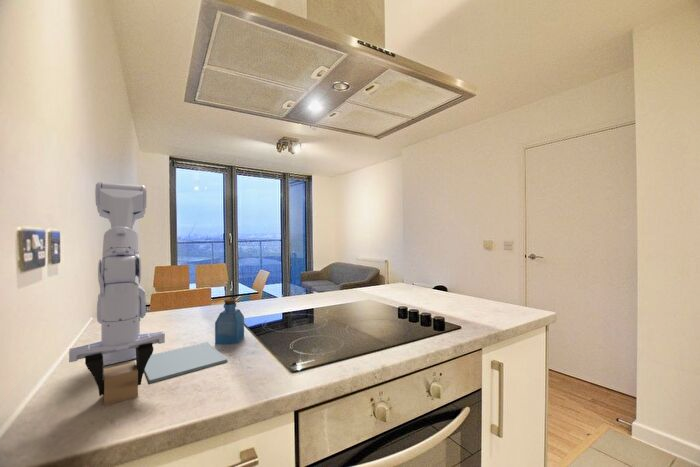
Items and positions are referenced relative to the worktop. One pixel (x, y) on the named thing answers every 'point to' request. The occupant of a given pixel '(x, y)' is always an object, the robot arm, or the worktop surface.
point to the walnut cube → (120, 383)
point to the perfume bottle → (229, 324)
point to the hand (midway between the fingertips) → (120, 388)
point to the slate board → (182, 361)
